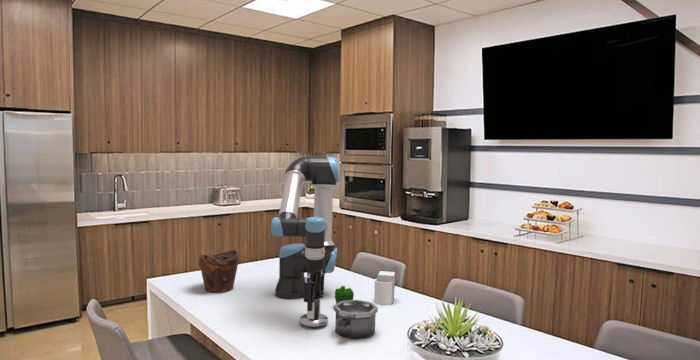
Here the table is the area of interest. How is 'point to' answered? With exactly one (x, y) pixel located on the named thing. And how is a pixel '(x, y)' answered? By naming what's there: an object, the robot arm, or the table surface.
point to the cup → (383, 293)
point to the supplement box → (387, 280)
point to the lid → (318, 319)
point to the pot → (355, 319)
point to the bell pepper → (343, 294)
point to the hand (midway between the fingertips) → (313, 316)
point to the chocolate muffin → (219, 271)
